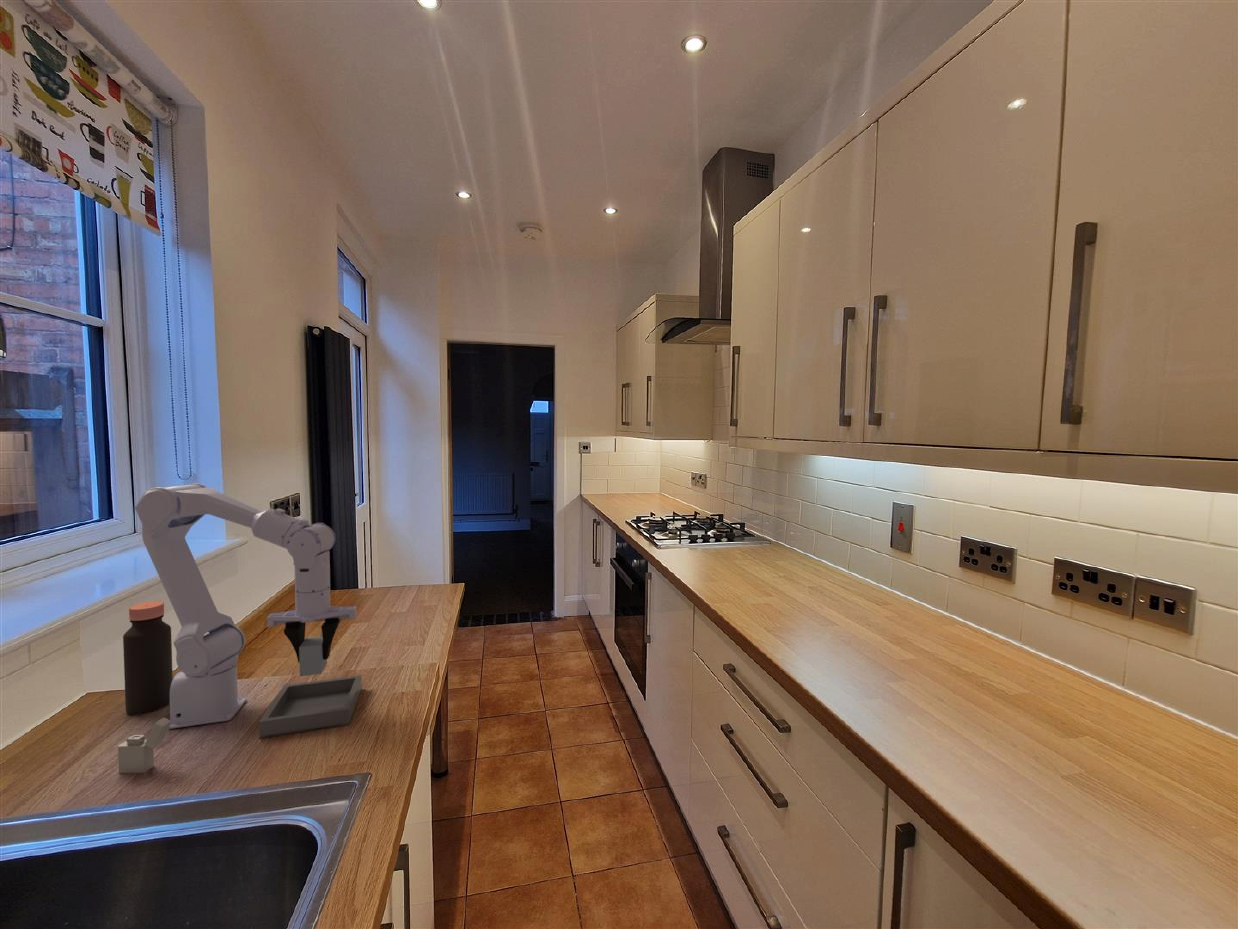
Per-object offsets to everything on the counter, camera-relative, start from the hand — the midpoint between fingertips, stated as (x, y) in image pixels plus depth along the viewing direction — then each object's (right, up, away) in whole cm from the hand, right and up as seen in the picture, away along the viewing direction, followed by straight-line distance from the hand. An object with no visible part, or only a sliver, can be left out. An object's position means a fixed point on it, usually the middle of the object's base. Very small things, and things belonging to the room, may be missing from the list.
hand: (314, 658), depth 96 cm
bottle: (-33, -10, +2) cm, 35 cm away
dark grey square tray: (0, -10, +1) cm, 10 cm away
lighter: (-16, -11, -17) cm, 26 cm away
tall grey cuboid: (0, -2, 0) cm, 2 cm away
